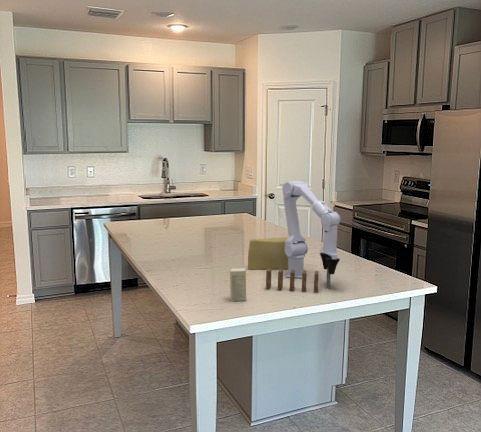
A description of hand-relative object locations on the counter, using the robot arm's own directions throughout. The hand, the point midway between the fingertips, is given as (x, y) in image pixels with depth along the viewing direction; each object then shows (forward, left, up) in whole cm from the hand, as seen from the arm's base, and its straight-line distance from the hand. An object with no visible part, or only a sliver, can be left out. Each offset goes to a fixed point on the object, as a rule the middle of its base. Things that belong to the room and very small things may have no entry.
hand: (328, 271), depth 207 cm
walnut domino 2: (+7, -20, -7) cm, 22 cm away
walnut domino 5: (+7, -5, -7) cm, 11 cm away
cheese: (-24, -28, -7) cm, 38 cm away
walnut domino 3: (+7, -15, -7) cm, 18 cm away
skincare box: (+24, -35, -7) cm, 43 cm away
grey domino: (0, 0, -7) cm, 7 cm away
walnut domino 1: (+7, -25, -7) cm, 27 cm away
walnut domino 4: (+7, -10, -7) cm, 14 cm away
